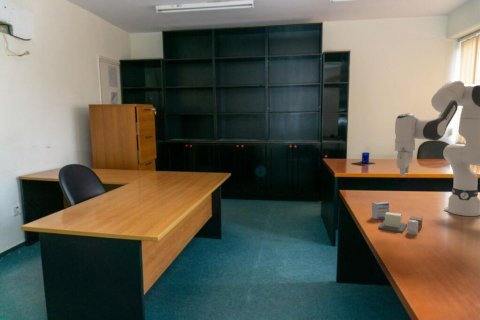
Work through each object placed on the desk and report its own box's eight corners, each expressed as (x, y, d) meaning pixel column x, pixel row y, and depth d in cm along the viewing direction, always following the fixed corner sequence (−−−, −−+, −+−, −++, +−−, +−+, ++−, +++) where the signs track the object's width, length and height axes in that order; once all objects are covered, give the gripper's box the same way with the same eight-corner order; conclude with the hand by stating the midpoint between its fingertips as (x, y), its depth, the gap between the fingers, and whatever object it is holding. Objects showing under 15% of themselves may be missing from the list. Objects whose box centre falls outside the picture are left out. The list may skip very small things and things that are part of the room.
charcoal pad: (383, 222, 172) (383, 220, 172) (406, 226, 166) (407, 224, 166) (378, 228, 163) (378, 226, 163) (402, 232, 156) (402, 230, 156)
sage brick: (386, 223, 168) (386, 211, 167) (401, 225, 164) (401, 214, 163) (384, 225, 165) (384, 213, 164) (399, 227, 161) (400, 216, 160)
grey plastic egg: (408, 231, 159) (408, 219, 158) (418, 232, 156) (418, 220, 155) (406, 233, 155) (407, 221, 154) (416, 235, 152) (417, 223, 152)
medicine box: (376, 220, 177) (377, 204, 176) (371, 217, 181) (371, 202, 180) (388, 218, 179) (389, 203, 178) (383, 216, 183) (383, 201, 182)
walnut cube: (411, 225, 167) (411, 215, 166) (422, 227, 164) (422, 217, 163) (409, 228, 163) (409, 218, 162) (420, 229, 160) (421, 220, 159)
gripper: (408, 149, 151) (407, 178, 153) (415, 144, 167) (414, 171, 169) (393, 149, 155) (393, 177, 157) (401, 144, 171) (401, 170, 173)
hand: (404, 174), depth 163 cm, fingers open, 8 cm apart
